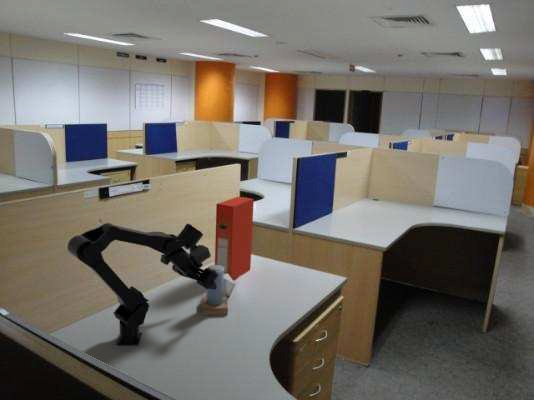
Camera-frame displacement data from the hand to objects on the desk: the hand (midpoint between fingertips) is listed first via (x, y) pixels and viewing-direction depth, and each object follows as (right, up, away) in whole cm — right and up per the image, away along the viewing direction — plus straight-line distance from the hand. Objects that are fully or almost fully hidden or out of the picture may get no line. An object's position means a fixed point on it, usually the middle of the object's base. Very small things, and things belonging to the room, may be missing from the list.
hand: (207, 283), depth 154 cm
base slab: (+2, -10, +5) cm, 11 cm away
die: (+4, -8, +16) cm, 18 cm away
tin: (+2, -7, +4) cm, 9 cm away
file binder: (+6, -3, +37) cm, 37 cm away
